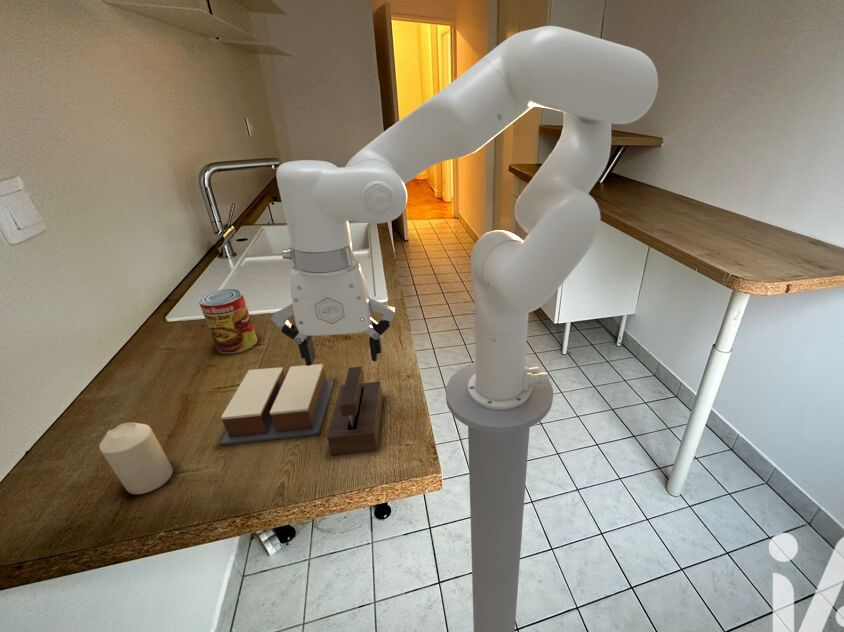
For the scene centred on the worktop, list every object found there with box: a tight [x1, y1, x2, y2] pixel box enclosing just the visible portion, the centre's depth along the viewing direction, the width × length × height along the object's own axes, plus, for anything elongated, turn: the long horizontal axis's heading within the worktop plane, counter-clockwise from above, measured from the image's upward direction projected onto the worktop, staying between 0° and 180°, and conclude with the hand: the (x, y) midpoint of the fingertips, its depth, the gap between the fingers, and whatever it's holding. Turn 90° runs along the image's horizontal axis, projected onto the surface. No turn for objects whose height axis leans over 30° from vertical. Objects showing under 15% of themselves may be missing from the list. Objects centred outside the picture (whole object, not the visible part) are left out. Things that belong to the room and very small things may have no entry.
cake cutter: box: [340, 366, 365, 430], centre depth 70 cm, size 10×2×9 cm, turn 11°
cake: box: [220, 363, 335, 446], centre depth 74 cm, size 15×15×5 cm
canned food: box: [198, 288, 258, 354], centre depth 90 cm, size 8×8×12 cm
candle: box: [98, 421, 174, 495], centre depth 59 cm, size 6×6×10 cm
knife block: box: [327, 381, 384, 456], centre depth 72 cm, size 13×7×4 cm, turn 11°
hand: (343, 358), depth 65 cm, fingers open, 9 cm apart
